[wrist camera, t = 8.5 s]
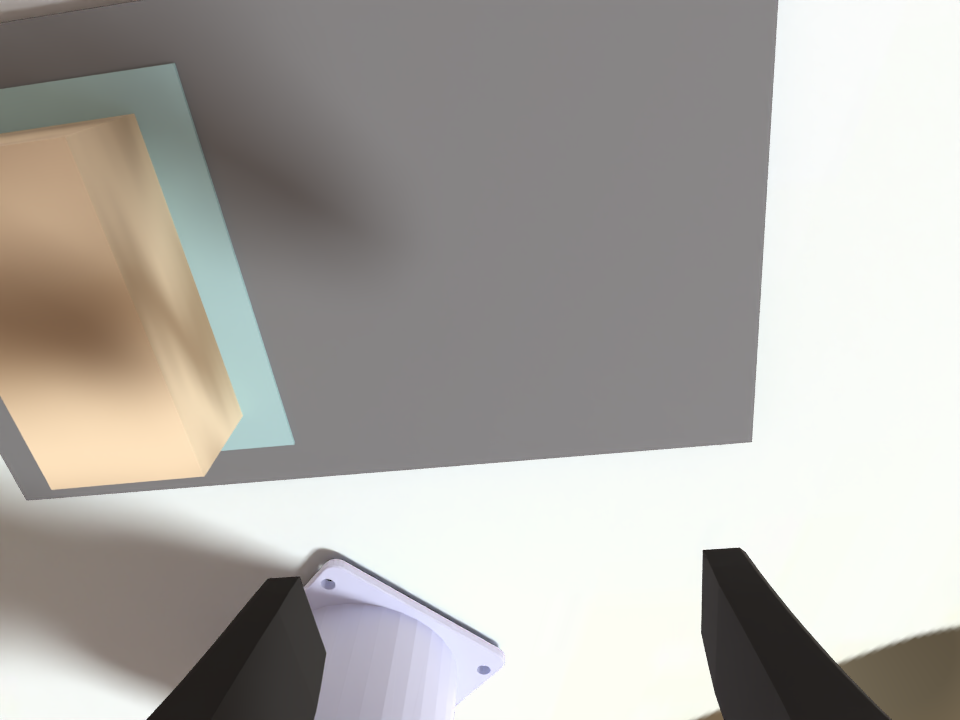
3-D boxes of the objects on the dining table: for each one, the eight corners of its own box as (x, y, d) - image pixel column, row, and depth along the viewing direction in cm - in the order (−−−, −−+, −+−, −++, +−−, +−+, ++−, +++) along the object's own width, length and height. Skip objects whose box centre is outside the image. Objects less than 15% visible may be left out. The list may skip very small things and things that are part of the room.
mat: (35, 491, 24) (25, 502, 24) (-205, 56, 18) (-227, 58, 17) (746, 432, 22) (752, 443, 21) (776, -101, 15) (785, -104, 14)
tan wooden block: (243, 415, 21) (204, 476, 19) (107, 429, 22) (51, 490, 19) (134, 113, 17) (65, 136, 15) (-31, 137, 18) (-126, 165, 15)
